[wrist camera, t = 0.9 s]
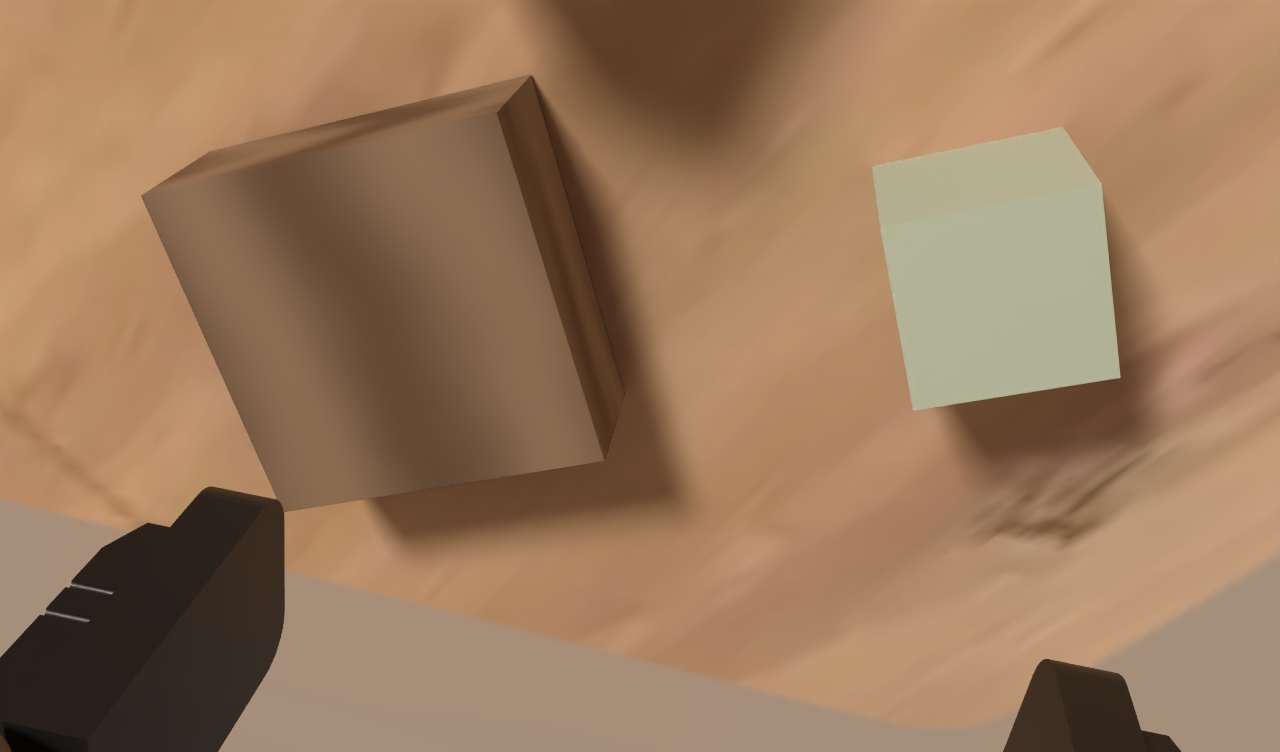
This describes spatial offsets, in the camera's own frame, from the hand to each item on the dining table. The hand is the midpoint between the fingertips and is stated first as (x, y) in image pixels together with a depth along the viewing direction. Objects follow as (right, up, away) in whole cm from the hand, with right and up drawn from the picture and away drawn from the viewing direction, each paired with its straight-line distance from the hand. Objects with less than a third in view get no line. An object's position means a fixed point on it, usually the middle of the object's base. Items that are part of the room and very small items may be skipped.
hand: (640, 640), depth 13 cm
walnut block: (-6, +6, +23) cm, 25 cm away
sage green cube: (+9, +7, +21) cm, 24 cm away
